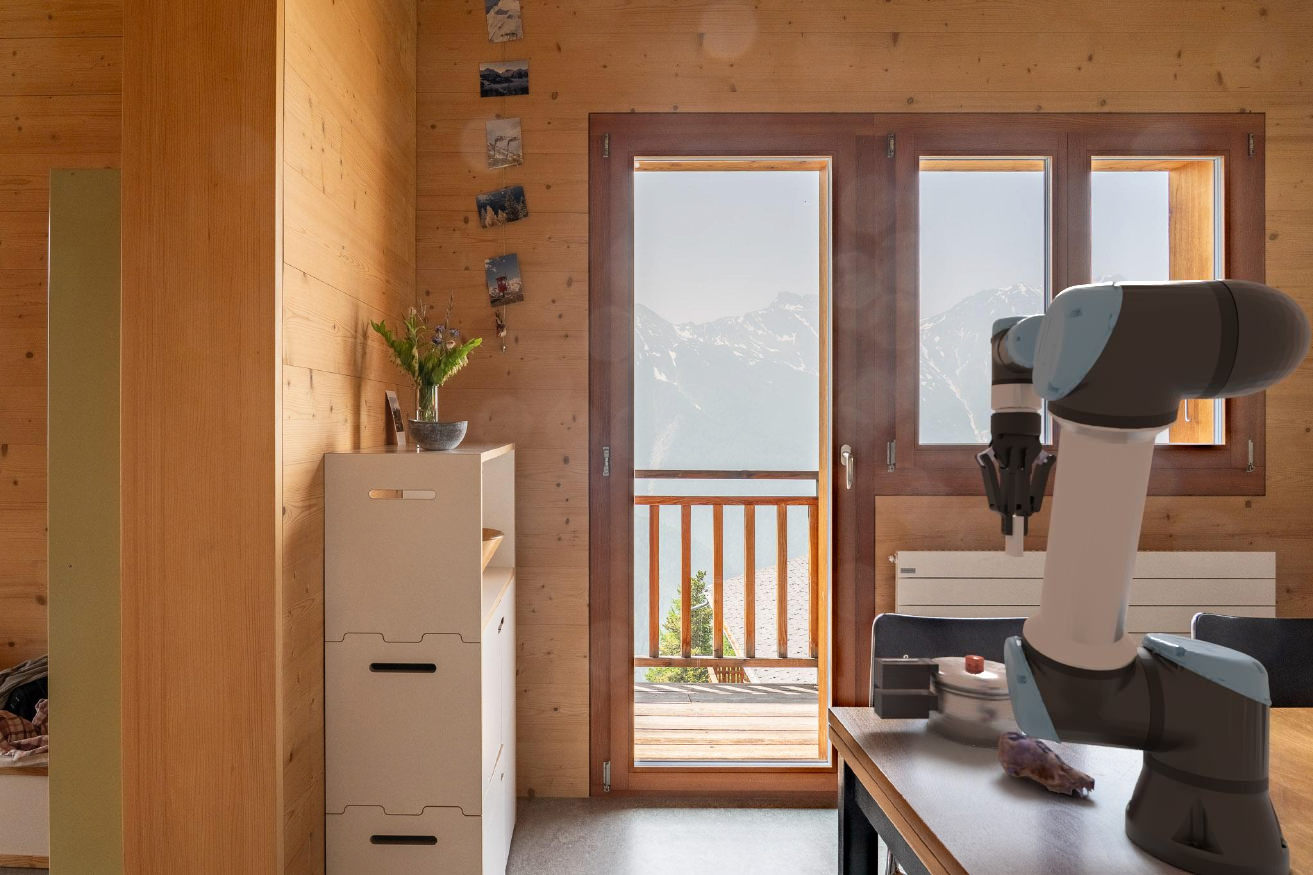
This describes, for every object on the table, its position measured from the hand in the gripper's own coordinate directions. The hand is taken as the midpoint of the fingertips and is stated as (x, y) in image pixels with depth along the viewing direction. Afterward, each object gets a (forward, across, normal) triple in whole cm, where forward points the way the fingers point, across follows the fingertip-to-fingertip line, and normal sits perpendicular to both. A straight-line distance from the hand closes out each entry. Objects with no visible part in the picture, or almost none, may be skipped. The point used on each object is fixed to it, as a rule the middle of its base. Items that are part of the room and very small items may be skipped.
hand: (1014, 555), depth 121 cm
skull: (+29, +7, +20) cm, 36 cm away
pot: (+28, +11, 0) cm, 30 cm away
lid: (+21, +11, 0) cm, 24 cm away
